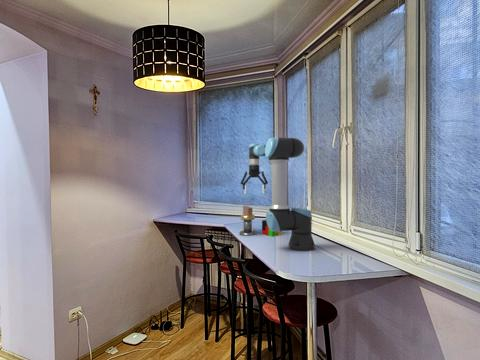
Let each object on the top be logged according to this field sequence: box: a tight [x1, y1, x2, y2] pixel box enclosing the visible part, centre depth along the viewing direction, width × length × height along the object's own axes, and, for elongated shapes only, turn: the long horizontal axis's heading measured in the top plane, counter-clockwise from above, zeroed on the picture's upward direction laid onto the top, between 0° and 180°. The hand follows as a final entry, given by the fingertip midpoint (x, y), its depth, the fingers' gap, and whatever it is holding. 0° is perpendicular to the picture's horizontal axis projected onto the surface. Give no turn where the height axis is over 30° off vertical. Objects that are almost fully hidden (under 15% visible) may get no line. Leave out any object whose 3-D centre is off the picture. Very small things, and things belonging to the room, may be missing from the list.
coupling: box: [240, 205, 256, 221], centre depth 225 cm, size 17×10×9 cm, turn 12°
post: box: [238, 220, 257, 237], centre depth 225 cm, size 12×12×11 cm
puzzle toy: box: [261, 219, 283, 237], centre depth 224 cm, size 10×10×10 cm
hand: (254, 193), depth 229 cm, fingers open, 13 cm apart
